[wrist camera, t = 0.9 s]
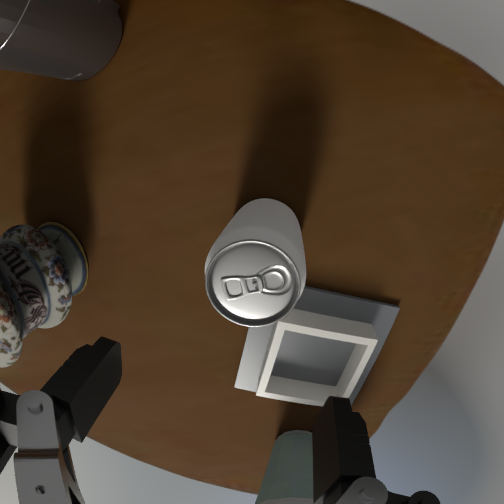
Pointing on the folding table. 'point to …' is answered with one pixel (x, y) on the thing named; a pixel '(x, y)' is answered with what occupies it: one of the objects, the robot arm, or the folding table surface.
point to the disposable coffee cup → (289, 470)
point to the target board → (316, 348)
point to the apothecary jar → (36, 281)
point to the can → (257, 265)
